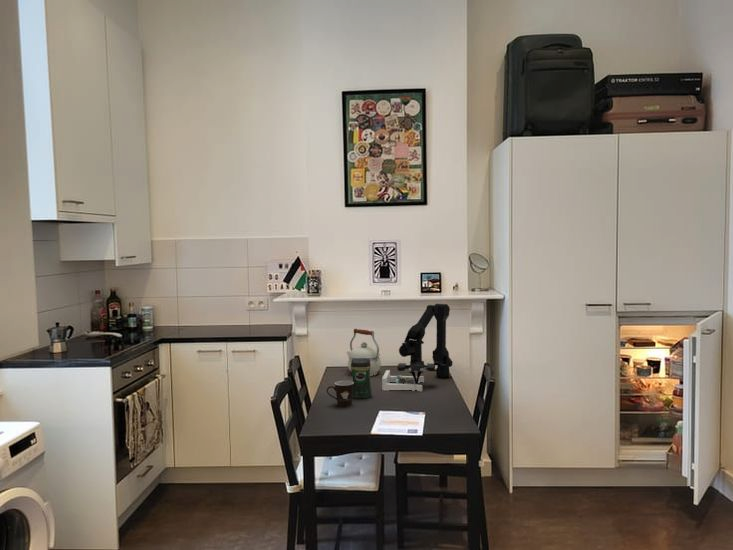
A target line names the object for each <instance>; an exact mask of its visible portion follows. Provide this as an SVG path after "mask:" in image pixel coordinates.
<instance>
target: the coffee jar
mask: <svg viewBox="0 0 733 550" xmlns="http://www.w3.org/2000/svg"><path fill="white" fill-rule="evenodd" d="M370 369H371V364H370V359H369V358H353V359H352V361H351V370H352V371H351V370H350V371H351V373H352V374H351V377H352V378H351V379H352V380H351V381H352V382H354V386H353V397H352V399H369V398H371V397H372V395H373V391H372V384H371V376H370Z"/></svg>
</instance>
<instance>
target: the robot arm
mask: <svg viewBox="0 0 733 550" xmlns="http://www.w3.org/2000/svg"><path fill="white" fill-rule="evenodd" d="M433 317H434V318H435V320H436V342H435V343H436V346H435V349H434V350H432V357H431V359H432V361H433V363H429V362H428V363H427V364H425V361H424V360H423V356H422V355H423V351H422V349H423V348H422V345H424V344H425V342H424V339H423V338H424V337H425V335H426V329H427V327H428V326H429V324H430V322H431V321H432V320H433ZM449 317H450V306H449V305H448V304H447V303H435V304H433V305H432V304H429V305H427V306H426V309H425V310H424V312H423V314H422V315H421V316H420V318H419V319H418V321H417V322H416V324H413V325H412V326H411V327H410V328H409V329H408V331H407V333H406V336H405V338H404V341H403V342H402V343H401V345H400V346H399V349H398V353H399V355H400V356H401V357H402V358H405V357H409V358H410V361H409V364H407V363H406V362H399V363H398V364H397V368H396V369H397V371H398V372H403V371H406V370H408V373H410V374H411V376H413V377H414V380H415V383H414V384H419V383H418V380H419V377H420V376H422V375H421V374H422V373H424V372H425V370H427V371H428V372H436V377H437V379H450V368H451V367H452V366H453V361H452V358H450V354H449V353H450V352H449V350H448V349H447V343H446V342H447V320H448V318H449ZM436 366H437V367H436ZM416 372H417V373H416ZM416 376H417V378H416Z"/></svg>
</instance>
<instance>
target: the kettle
mask: <svg viewBox="0 0 733 550" xmlns="http://www.w3.org/2000/svg"><path fill="white" fill-rule="evenodd" d="M357 334H359V335H366V336H371V338H372V341H373V343H374V345H375V346H376V348H375V347H373V346H368V343H367V342H365V341H363V342H362V343H361V344H360V346H356V347H355V348H353V341H354V339H355V338H356V336H357ZM349 348H350V349H349V351H346V354H347V357H348V362H347V366H348V369H349V371H351V372H352V370H351V361H352V359H353V358H369V359H370V364H371V369H370V377H373V375H374V376H376V375H377V374H378V371H379V370H380V369H381V365H382V362H381V358H380V356H381V354H380V347H379V344H378V342H377V340H376V339H375V331H374V330H368V329H360V328H359V329H358V328H353V337H351V340H350V342H349Z"/></svg>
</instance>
